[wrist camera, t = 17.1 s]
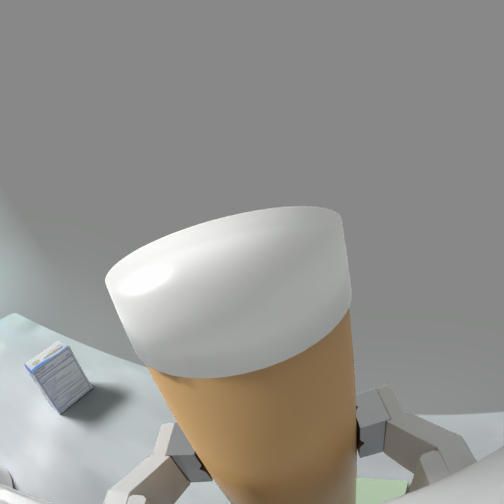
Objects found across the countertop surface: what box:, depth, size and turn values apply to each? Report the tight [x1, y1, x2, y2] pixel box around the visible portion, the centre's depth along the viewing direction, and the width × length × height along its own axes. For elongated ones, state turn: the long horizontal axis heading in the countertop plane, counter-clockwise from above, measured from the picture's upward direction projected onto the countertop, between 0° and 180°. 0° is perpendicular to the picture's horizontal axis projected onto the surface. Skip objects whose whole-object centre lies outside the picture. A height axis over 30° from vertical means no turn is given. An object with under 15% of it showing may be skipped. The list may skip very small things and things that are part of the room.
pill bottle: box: [105, 206, 357, 504], centre depth 9 cm, size 5×5×13 cm
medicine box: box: [25, 341, 93, 414], centre depth 39 cm, size 8×4×9 cm, turn 149°
